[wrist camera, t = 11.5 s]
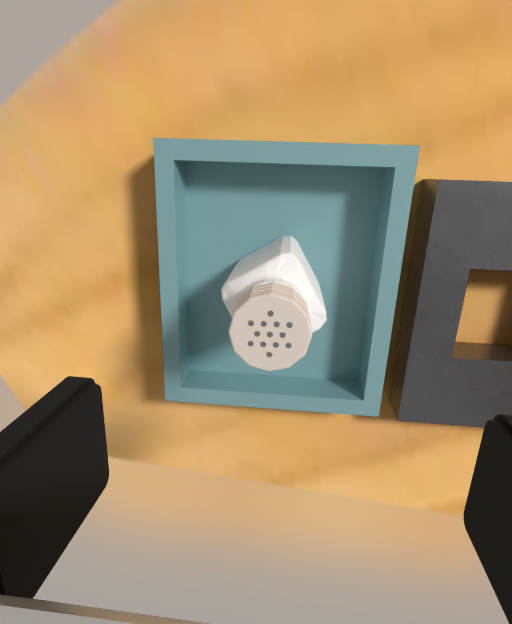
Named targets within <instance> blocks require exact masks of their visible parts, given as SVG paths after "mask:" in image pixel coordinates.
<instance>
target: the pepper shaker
mask: <svg viewBox="0 0 512 624" xmlns="http://www.w3.org/2000/svg"><path fill="white" fill-rule="evenodd" d="M221 292H222V300H223V302H224V304H225V306H226V308H227V310H228V311H229V313H230V315H231V317H232V320H231V324H230V327H229V331H228V333H229V336H230V340H231V343H232V347H233V350H234V352H235V353H236V354H237V355H238V356H239V357H240V358H241V359H242V360H244V361H245V362H246V363H247V364H248V365H249V366H252V367H255V368H259V369H262V370H265V371H274V370H280V369H285V368H290V367H291V366H292V365H293V364H295V363H296V362H297V361H298V360H299V359H301V358H302V357H303V356H304V355H305V354H306V352H307V349H308V346H309V343H310V341H311V338H312V333H313V332H315V331H317V330H319V329H320V328H321V327H322V325H323V324H324V323H325V322H326V320H327V317H326V309H325V305H324V301H323V297H322V293H321V289H320V285H319V282H318V280H317V278H316V276H315V274H314V272H313V270H312V268H311V266H310V265H309V263H308V261H307V259H306V257H305V255H304V253H303V251H302V249H301V247H300V245H299V243H298V241H297V240H296V239H294V238H293V237H292V236H283V237H281V238H279V239H277V240H276V241H274V242H272V243H270V244H268V245H266V246H264V247H263V248H261V249H259V250H257V251H255V252H253V253H251V254H250V255H248V256H246V257H244V258H242V259H240V261H239V262H238V263H237V264H236V266H235V267H234V269H233V271H232V272H231V274H230V275H229V277H228V279H227V280H226V282H225V283H224V285H223V287H222V288H221Z"/></svg>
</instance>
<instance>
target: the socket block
mask: <svg viewBox="0 0 512 624" xmlns="http://www.w3.org/2000/svg"><path fill="white" fill-rule="evenodd" d="M470 269H489V270H509V271H512V182H494V181H465V180H437V179H423V184H422V191H421V197H420V203H419V210H418V216H417V222H416V228H415V235H414V241H413V247H412V254H411V260H410V266H409V273H408V279H407V285H406V291H405V298H404V304H403V310H402V317H401V323H400V329H399V336H398V342H397V348H396V355H395V361H394V367H393V373H392V380H391V386H390V392H389V402H390V404H391V407H392V409H393V411H394V414H395V416H396V418H397V421H408V422H421V423H434V424H448V425H461V426H474V427H485V424H486V422H487V421H488V420H493V419H494V417H495V416H496V415H498V414H502V415H512V345H496V344H480V343H464V342H455V340H456V335H457V330H458V325H459V321H460V316H461V311H462V306H463V301H464V297H465V292H466V287H467V282H468V277H469V273H470Z"/></svg>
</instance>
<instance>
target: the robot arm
mask: <svg viewBox="0 0 512 624" xmlns="http://www.w3.org/2000/svg"><path fill="white" fill-rule="evenodd" d="M108 478H109V466H108V455H107V445H106V434H105V424H104V413H103V403H102V392H101V387H100V386H99V385H98V384H95V382H94V380H93V379H92V378H84V377H72V376H69V377H67V378H65V379H64V380H63V381H62V382H60V383H59V384H58V385H57V386H56V387H54V388H53V389H52V390H51V391H50V392H48V393H47V394H46V395H45V396H43V397H42V398H41V399H40V400H39V401H37V402H36V403H35V404H34V405H32V406H31V407H30V408H29V409H28V410H26V411H25V412H24V413H23V414H22V415H20V416H19V417H18V418H17V419H15V420H14V421H13V422H12V423H11V424H9V425H8V426H7V427H6V428H5V429H3V430H2V431H1V432H0V624H207V623H201V622H194V621H187V620H180V619H173V618H166V617H159V616H152V615H145V614H138V613H130V612H123V611H116V610H108V609H102V608H95V607H87V606H80V605H73V604H66V603H59V602H52V601H45V600H37V599H33V597H34V596H35V594H36V593H37V591H38V590H39V588H40V587H41V585H42V584H43V582H44V581H45V579H46V577H47V576H48V574H49V573H50V571H51V570H52V568H53V566H54V565H55V564H56V562H57V561H58V559H59V557H60V556H61V554H62V553H63V551H64V550H65V548H66V547H67V545H68V544H69V542H70V541H71V539H72V538H73V536H74V534H75V533H76V532H77V530H78V528H79V527H80V525H81V524H82V522H83V521H84V519H85V518H86V516H87V515H88V513H89V512H90V510H91V509H92V507H93V506H94V504H95V502H96V501H97V499H98V498H99V496H100V495H101V493H102V492H103V490H104V489H105V487H106V485H107V482H108ZM464 524H465V528H466V531H467V532H468V535H469V537H470V539H471V541H472V543H473V546H474V548H475V550H476V552H477V555H478V557H479V559H480V561H481V563H482V565H483V567H484V570H485V572H486V574H487V576H488V578H489V581H490V583H491V585H492V587H493V589H494V591H495V594H496V596H497V598H498V600H499V602H500V604H501V607H502V609H503V611H504V613H505V615H506V617H507V620H508V622H509V624H512V415H502V414H498V415H496V416H495V417H494V419H493V420H488V421H487V422H486V424H485V428H484V432H483V436H482V440H481V444H480V448H479V452H478V456H477V460H476V465H475V469H474V473H473V477H472V481H471V485H470V489H469V493H468V497H467V502H466V506H465V510H464Z"/></svg>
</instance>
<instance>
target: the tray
mask: <svg viewBox="0 0 512 624" xmlns="http://www.w3.org/2000/svg"><path fill="white" fill-rule="evenodd" d="M153 146H154V168H155V189H156V211H157V233H158V255H159V277H160V299H161V320H162V342H163V364H164V386H165V401H176V402H189V403H203V404H216V405H229V406H243V407H256V408H269V409H283V410H296V411H310V412H323V413H336V414H350V415H363V416H376V417H379V411H380V405H381V398H382V391H383V385H384V378H385V372H386V365H387V358H388V352H389V345H390V339H391V332H392V326H393V319H394V312H395V306H396V299H397V293H398V286H399V280H400V273H401V266H402V260H403V253H404V247H405V240H406V234H407V227H408V220H409V214H410V207H411V201H412V194H413V188H414V181H415V174H416V168H417V161H418V155H419V148H420V146H414V145H379V144H345V143H311V142H276V141H242V140H208V139H173V138H153ZM283 236H292V237H293V238H294V239H296V240H297V241H298V243H299V245H300V247H301V249H302V251H303V253H304V255H305V257H306V259H307V261H308V263H309V265H310V266H311V268H312V270H313V272H314V274H315V276H316V278H317V280H318V282H319V285H320V289H321V293H322V297H323V301H324V305H325V309H326V317H327V320H326V322H325V323H324V324H323V325H322V327H321V328H320V329H319V330H317V331H315V332H313V333H312V338H311V341H310V343H309V346H308V349H307V352H306V354H305V355H304V356H303V357H302V358H301V359H299V360H298V361H297V362H296V363H295V364H293V365H292V366H291V367H290V368H285V369H280V370H274V371H265V370H262V369H259V368H255V367H252V366H249V365H248V364H247V363H246V362H245V361H244V360H242V359H241V358H240V357H239V356H238V355H237V354H236V353H235V352H234V350H233V347H232V343H231V340H230V336H229V333H228V331H229V327H230V324H231V320H232V317H231V315H230V313H229V311H228V310H227V308H226V306H225V304H224V302H223V300H222V292H221V288H222V287H223V285H224V283H225V282H226V280H227V279H228V277H229V275H230V274H231V272H232V271H233V269H234V267H235V266H236V264H237V263H238V262H239V261H240V259H242V258H244V257H246V256H248V255H250V254H251V253H253V252H255V251H257V250H259V249H261V248H263V247H264V246H266V245H268V244H270V243H272V242H274V241H276V240H277V239H279V238H281V237H283Z"/></svg>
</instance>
